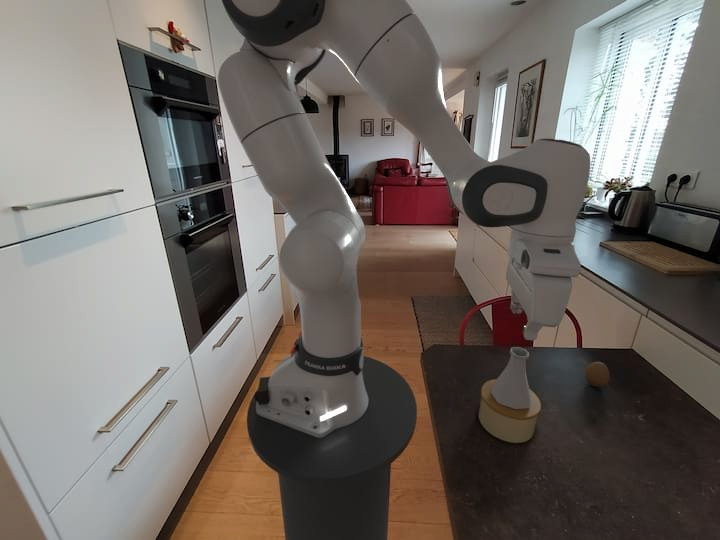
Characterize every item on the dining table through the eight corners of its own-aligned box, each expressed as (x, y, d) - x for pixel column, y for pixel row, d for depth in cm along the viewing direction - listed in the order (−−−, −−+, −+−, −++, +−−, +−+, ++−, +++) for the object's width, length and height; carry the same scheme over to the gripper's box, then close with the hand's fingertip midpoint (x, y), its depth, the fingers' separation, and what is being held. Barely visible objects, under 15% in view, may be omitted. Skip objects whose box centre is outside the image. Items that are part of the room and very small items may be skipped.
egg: (610, 392, 72) (618, 369, 70) (590, 391, 72) (597, 369, 70) (597, 378, 76) (604, 357, 74) (578, 378, 76) (584, 356, 74)
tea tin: (480, 438, 60) (485, 412, 58) (474, 399, 70) (478, 375, 68) (542, 448, 58) (548, 422, 56) (526, 407, 68) (532, 382, 65)
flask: (487, 381, 66) (494, 338, 62) (526, 386, 64) (535, 343, 61) (493, 407, 59) (502, 361, 56) (536, 413, 58) (548, 366, 54)
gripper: (505, 232, 62) (493, 297, 67) (534, 265, 43) (515, 353, 48) (540, 234, 61) (525, 301, 66) (587, 270, 42) (561, 360, 47)
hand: (521, 323), depth 57 cm, fingers open, 8 cm apart
